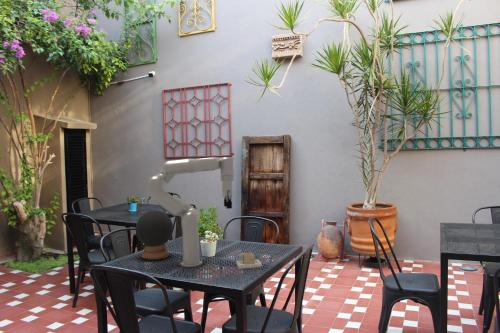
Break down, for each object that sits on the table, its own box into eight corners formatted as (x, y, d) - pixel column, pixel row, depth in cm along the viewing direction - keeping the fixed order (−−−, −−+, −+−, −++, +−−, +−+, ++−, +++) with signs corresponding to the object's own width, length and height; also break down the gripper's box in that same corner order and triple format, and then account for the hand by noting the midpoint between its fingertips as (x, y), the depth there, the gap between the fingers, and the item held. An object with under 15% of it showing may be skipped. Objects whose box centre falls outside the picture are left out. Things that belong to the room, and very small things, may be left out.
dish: (236, 264, 259) (236, 261, 259) (258, 262, 262) (257, 259, 261) (239, 268, 249) (239, 265, 249) (261, 267, 252) (261, 263, 252)
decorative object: (158, 263, 267) (156, 213, 265) (128, 259, 277) (127, 212, 276) (181, 254, 287) (179, 208, 286) (153, 251, 298) (151, 207, 297)
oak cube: (242, 263, 258) (242, 253, 258) (252, 262, 259) (252, 252, 259) (244, 266, 252) (244, 255, 252) (254, 265, 253) (254, 254, 253)
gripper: (218, 177, 267) (219, 206, 268) (222, 179, 250) (223, 209, 251) (231, 177, 269) (232, 205, 269) (235, 178, 252) (236, 208, 252)
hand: (228, 207), depth 260 cm, fingers open, 9 cm apart
